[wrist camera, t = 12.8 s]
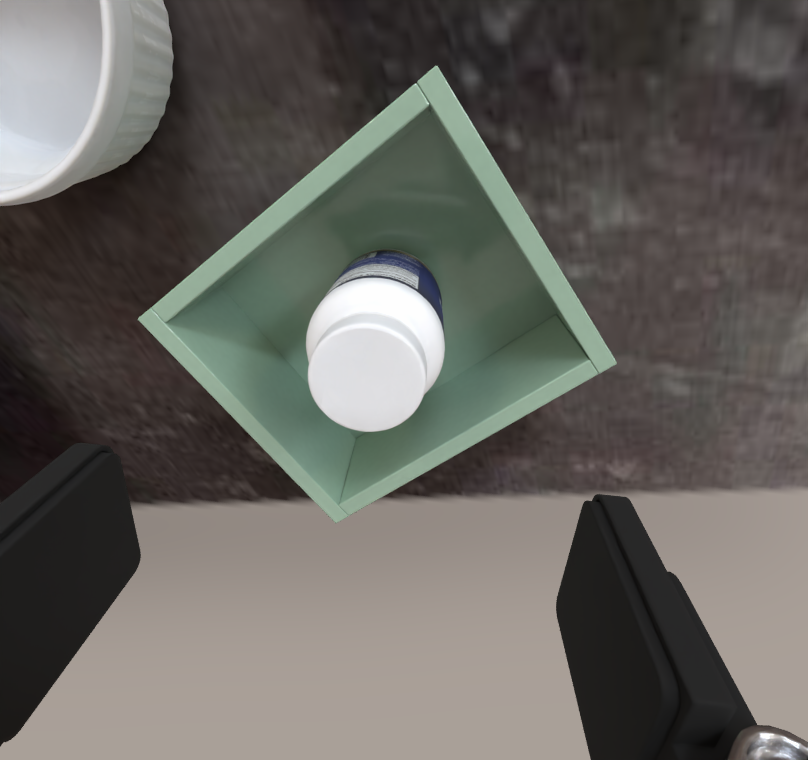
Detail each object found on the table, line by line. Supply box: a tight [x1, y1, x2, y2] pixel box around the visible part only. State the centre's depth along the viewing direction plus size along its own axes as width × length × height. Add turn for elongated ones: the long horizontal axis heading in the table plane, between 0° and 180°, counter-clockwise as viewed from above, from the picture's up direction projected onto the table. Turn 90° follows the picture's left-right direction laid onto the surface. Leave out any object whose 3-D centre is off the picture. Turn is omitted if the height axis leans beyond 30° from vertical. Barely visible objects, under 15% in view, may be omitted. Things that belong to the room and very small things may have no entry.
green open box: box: [138, 66, 617, 523], centre depth 23 cm, size 15×13×7 cm
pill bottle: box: [306, 249, 445, 432], centre depth 21 cm, size 5×5×10 cm
